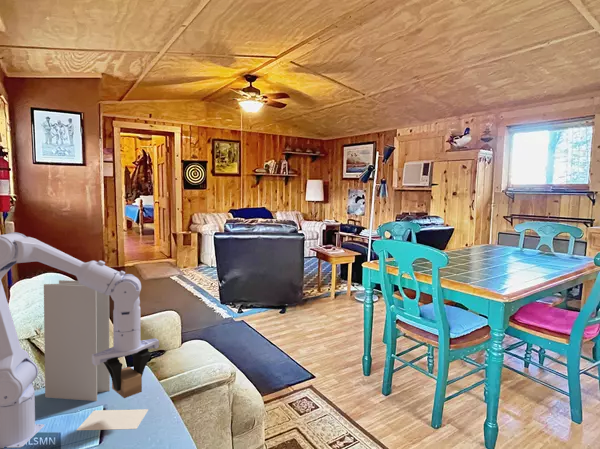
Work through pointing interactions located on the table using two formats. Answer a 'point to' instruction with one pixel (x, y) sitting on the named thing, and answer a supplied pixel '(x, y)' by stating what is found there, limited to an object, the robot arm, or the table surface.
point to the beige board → (113, 419)
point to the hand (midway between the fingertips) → (127, 385)
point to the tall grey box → (75, 340)
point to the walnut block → (129, 382)
